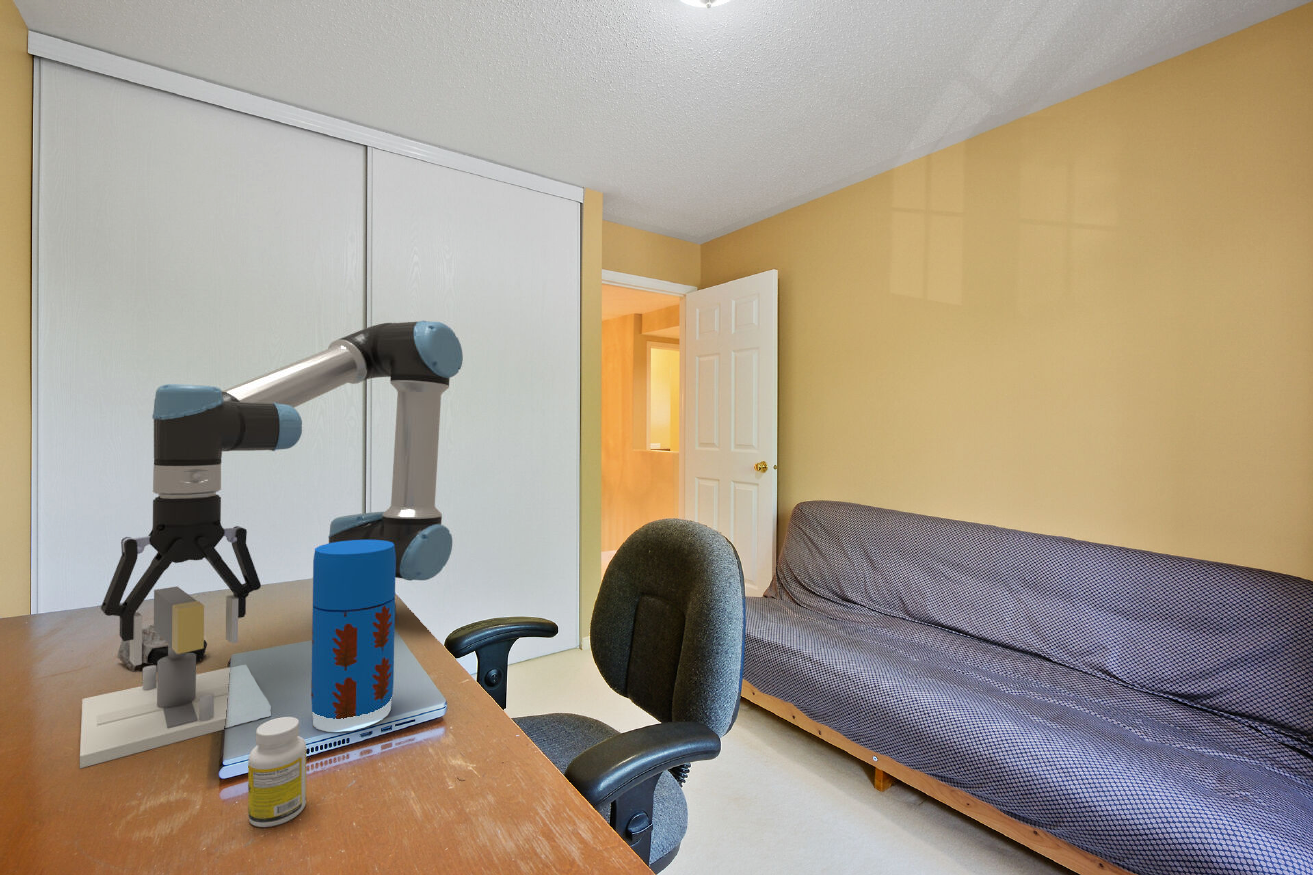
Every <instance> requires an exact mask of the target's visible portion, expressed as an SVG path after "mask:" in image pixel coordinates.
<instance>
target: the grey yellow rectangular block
mask: <svg viewBox="0 0 1313 875" xmlns="http://www.w3.org/2000/svg"><path fill="white" fill-rule="evenodd" d="M153 624H154V630H155V631H156V632H157V633H158V634H159V635H160V636H161V637H162V638H163V639H164V640H165V641H166V642H167V643H168V658H171V659H173V658H180V657H183V656H185V655H186V652H189V651H194V650H198V649H203V648H204V640H205V639H204V638H205V637H204V636H205V635H204V634H205V633H204V632H205V631H204V630H205V605H204V604H203V603H202V602H201V601H199V600H196V598H194V597H193V596H191V595H190V594H189V593H187V592H185V590H183V589H182V588H180V587H179V586H171V587H165V588H164V587H163V588H160V589H159V588H158V589H157V588H156V589H154V590H153Z"/></svg>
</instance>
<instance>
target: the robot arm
mask: <svg viewBox="0 0 1313 875" xmlns="http://www.w3.org/2000/svg"><path fill="white" fill-rule="evenodd" d="M463 357H464V356H463V348H462V345H461V342H460V340H459V338H458V337H457V335H456V333H455V332H454V330H453V329H452V328H451V327H449V326H448V325H447V324H445V323H443V322H441V321H429V320H428V321H427V320H420V321H407V322H406V321H405V322H384V323H378V324H375V325H372V326H368V327H367V328H364V329H361V330H359V331H355V332H353V333H351V334H349V335H346V336H344V337H341V338H338V339H336V340H334V341H331V343H330V344H329V346H328V348H327V349H325V350H321V351H320V352H317V353H314V354H312V355H310V356H307V357H305V358H302V359H300V360H297V361H295V362H292V363H289V364H286V365H284V366H281V367H279V368H276V369H274V370H272V371H268V372H267V373H264V374H262V375H259V376H257V377H254V378H251V379H249V380H245V381H244V382H242V383H240V384H239V383H238V384H236V385H234V386H231V387H229V388H227V389H224V390H222V389H221V388H219V387H217V386H210V385H199V384H198V385H197V384H195V385H194V384H178V383H177V384H173V383H172V384H170V383H169V384H163V385H162V384H161V385H160V386H159V387H157V389H156V390H155V396H154V402H153V411H152V419H153V477H152V482H153V483H152V492H153V493H154V494H156V495H158V496H156V497H155V498H154V499H153V500H152V529H151V531H150V532H149V534H148V536H147V535H146V536H139V537H131V536H125V537H123V538H122V539H121V542H120V544H121V556H120V558H119V561H118V563H117V566H116V568H115V571H114V572H113V577H112V578H111V581H110V584H109V585H108V588H107V591H106V594H105V596H104V598H103V601H102V603H101V606H100V609H101V610H100V611H102V613H103V614H104V615H106V616H115V617H119V637H120V639H121V641H122V640H123V641H128V640H130V662H131V663H132V664H133V665H134V666H135V667H136V666H140V665H142V664H143V662H142V625H143V616H142V614H141V613H140V612H139V611H138V609H139V608H140V607H141V605H142V604H143V602H144V601H145V600H146V598H147V596H148V595H149V594H150V593H151V591H152V590H153V588H154V587H155V585H156V584H157V582H158V581H159V579H160V578H161V577H162V575H163V574H164V573H165V571H166V570H168V569H169V567H170V566H171V564H172V563H174V564H178V563H184V562H187V561H201V560H203V559H205V560H206V561H207V562H208V563H209V565H210V566H211V567H212V568H213V569H214V571H215V572H216V573H217V574H218V576H219V578H221V579H222V581H223V582H224V583H225V585H226V586H227V587H228V588H229V590H230V591H231V592H232V593H233V594H230V595H226V597H225V599H226V601H225V605H226V606H225V640H226V641H227V642H229V643H230V644H236V643H238V642H239V619H242V618H245V617H246V614H247V613H246V612H247V610H246V609H247V607H246V606H247V605H246V604H247V598H248V596H249V595H250V593H252V592H254V591H258V590H259V589H260V588H261V587H262V584H261V581H260V579H259V578H260V577H259V575H258V573H257V570H256V567H255V564H254V561H253V558H252V556H251V553H250V550H249V547H248V544H247V533H248V531H247V529H246V528H245V527H242V526H238V525H236V526H234V527H229V528H224V527H223V526H222V523H221V521H222V518H221V516H222V515H221V514H222V513H221V512H222V497H221V496H220V495H219V494H217V492H219V491H221V490H222V458H223V457H222V455H223V452H231V451H232V452H234V451H235V452H236V451H238V452H239V451H240V452H241V451H245V452H246V451H247V452H248V451H251V452H252V451H271V452H275V451H278V450H287V449H291V448H293V447H294V446H296V445H297V443H298V442H299V440H300V438H301V437H302V433H303V429H302V428H303V421H302V417H301V415H300V413H299V412H298V410H297V409H296V408H297V407H299V406H301V405H303V404H305V403H307V402H309V401H312V400H313V399H316V398H318V397H321V396H322V395H325V394H327V393H328V392H330V391H333V390H335V389H337V388H339V387H341V386H344V385H345V384H347V383H348V384H350V385H351V384H353V385H355V384H359V383H362V382H364V381H367V380H370V379H376V378H390V381H389V383H390V384H391V386H393V388H394V389H395V390H396V392H397V400H396V412H395V413H396V414H395V431H394V433H395V434H394V448H393V449H394V450H393V451H394V452H393V466H392V482H391V483H392V484H391V500H390V501H391V502H390V506H389V508H387V509H386V510H385V511H377V512H376V511H375V512H365V513H357V514H350V515H349V514H348V515H343V516H339V517H336V518H334V519H333V520H332V521H331V523H330V524H329V535H328V543H334V542H340V541H350V540H382V541H389V542H392V543H393V544H394V546H395V554H396V572H395V579H396V578H397V579H403V580H404V581H405V580H406V581H427V580H430V579H432V578H435V577H436V576H437V575H439V573H441V572H442V570H443V568H444V567H445V566H446V565H447V563H448V561H449V559H450V557H451V555H452V554H451V553H452V549H453V535H452V533H450V529H449V528H448V527H447V526H445V525H444V524H442V519H443V518H442V517H443V514H442V512H440V510H439V509H437V507H436V490H437V475H438V474H437V472H438V456H439V436H440V420H441V406H442V404H441V403H442V401H441V400H442V394H443V393H445V392H446V391H447V390H448V389H449V388H450V378H453V377H454V376H456V375H457V374H458V373H459V371H460V370H461V368H462V367H463V366H462V365H463ZM224 537H225V538H226V540H227V542H228V543H231V547H232V550H233V552H234V556H235V558H236V561H237V563H238V566H239V569H240V572H241V574H242V577H243V579H244V583H243V584H242V583H241V581H240V580H239V578H238V577H237V576H236V575H235V574H234V572H233V571H232V570H231V568H230V567H229V566H228V565H227V563H226V562H225V560H224V559H223V558H222V556H221V555H220V553H219V552H218V551H217V549H216V546H217V545H218V544H219V543H220V542H221V540H222V539H223V538H224ZM149 545H150V546H151V547H152V548H153V549H154V550H156V552H157V553H156V554H155V556H154V557H153V558H152V559H151V561H150V562H151V563H150V565H149V566H148V567H147V569H146V570H145V571H144V572H143V574H142V576H141V577H140V578H139V580H138V582H136V584H135V585H134V587H133V588H132V590H131V591H130V593H129V594H128V596H127V597H126V598H125V599H124V601H123V602H122V604H121V601H122V599H123V596H124V594H125V592H126V589H127V586H128V583H129V581H130V578H131V575H132V574H133V571H134V568H135V565H136V562H137V561H138V555H139V554H140V555H141V554H142V553H144V551H145V548H146V547H147V546H149ZM396 603H397V602H395V618H396V617H397V604H396Z"/></svg>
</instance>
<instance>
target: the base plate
mask: <svg viewBox="0 0 1313 875" xmlns="http://www.w3.org/2000/svg"><path fill="white" fill-rule="evenodd" d="M229 673H230V667H224V668H220V669H216V670H211V671H207V672H202V673H197V663H196V654H194V653H186V655H185V656H183V657H180V658H173V659H171V658H168V656H166V657H164V658H161V659H160V660H158V662H157V665H154V664H151V665H148V666H144V667H143V668H142V685H141V686H137V687H131V688H127V689H123V690H122V689H121V690H118V691H113V692H108V693H104V694H99V695H94V696H90V697H85V698H82V706H81V724H80V725H81V726H80V746H79V748H80V751H79V769H83V768H86V767H90V766H95V765H98V764H102V763H105V762H109V761H113V760H117V759H120V758H124V757H127V756H130V755H134V754H138V753H142V752H145V751H149V750H152V749H156V748H160V747H163V746H168V745H171V744H175V743H178V742H182V741H186V740H190V739H193V738H197V737H200V736H205V735H208V734H211V733H215V732H218V731H222V730H225V729H224V726H225V719H226V710H227V698H228V686H229V685H228V684H229Z"/></svg>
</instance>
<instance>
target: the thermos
mask: <svg viewBox="0 0 1313 875" xmlns="http://www.w3.org/2000/svg"><path fill="white" fill-rule="evenodd" d="M312 563H313V564H312V619H311V620H312V621H311V622H312V624H311V682H310V683H311V684H310V685H311V687H310V689H311V692H310V694H311V695H310V696H311V713H312V712H314V713H315V714H317V715H320V716H324V717H326V718H333V719H335V718H336V719H341V718H343V719H344V718H347V717H353V716H360V715H362V714H368V713H370V712H374V711H375V710H378V709H380V708H382V707H383V706H385V705H386V704H387V703H388V702H389V701H390V699H391V697H392V695H393V694H394V677H395V676H394V675H395V674H394V673H395V669H394V668H395V667H394V666H395V618H396V617H395V603H396V597H395V596H396V578H395V572H396V554H395V546H394V544H393V543H392V542H389V541H382V540H350V541H340V542H334V543H329V542H328V543H324V544H321V545H319V546H316V547H315V548H314V555H313V562H312ZM392 698H393V697H392Z"/></svg>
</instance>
